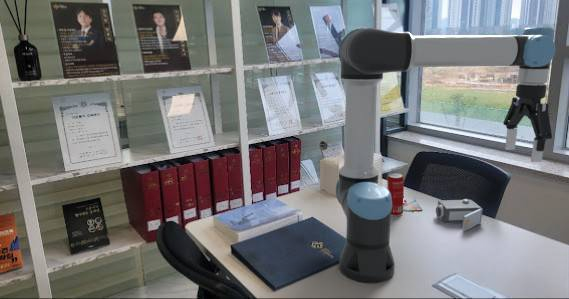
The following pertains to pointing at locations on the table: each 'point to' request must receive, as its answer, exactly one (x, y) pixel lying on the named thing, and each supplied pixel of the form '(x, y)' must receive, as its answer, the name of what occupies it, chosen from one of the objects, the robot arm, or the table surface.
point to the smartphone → (411, 206)
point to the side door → (472, 219)
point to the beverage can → (396, 192)
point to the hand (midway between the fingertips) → (522, 155)
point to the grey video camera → (455, 210)
